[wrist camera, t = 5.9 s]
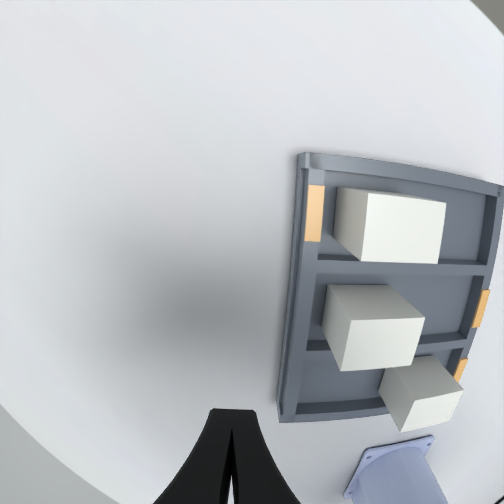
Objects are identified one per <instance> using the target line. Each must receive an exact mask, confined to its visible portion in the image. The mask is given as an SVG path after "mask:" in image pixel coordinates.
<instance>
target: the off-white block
mask: <svg viewBox="0 0 504 504" xmlns="http://www.w3.org/2000/svg"><path fill="white" fill-rule="evenodd" d="M424 320H425V317H424V316H423V315H422V314H421V313H420V312H419V311H418V310H417V309H416V308H415V307H413V306H412V305H411V304H410V303H409V302H408V301H407V300H406V299H405V298H404V297H402V296H401V295H400V294H399V293H398V292H397V291H396V290H395V289H393V288H392V287H391V286H390V285H335V284H328V285H327V292H326V300H325V307H324V314H323V320H322V327H321V328H322V330H323V333H324V335H325V337H326V339H327V342H328V344H329V346H330V349H331V351H332V353H333V355H334V358H335V360H336V362H337V365H338V367H339V369H340V371H355V370H369V369H380V368H391V367H400V366H409V365H411V364H412V361H413V358H414V354H415V351H416V348H417V345H418V342H419V338H420V335H421V331H422V328H423V324H424Z"/></svg>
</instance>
